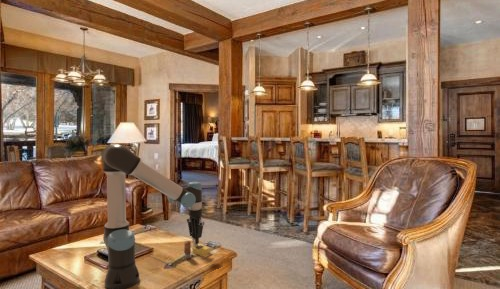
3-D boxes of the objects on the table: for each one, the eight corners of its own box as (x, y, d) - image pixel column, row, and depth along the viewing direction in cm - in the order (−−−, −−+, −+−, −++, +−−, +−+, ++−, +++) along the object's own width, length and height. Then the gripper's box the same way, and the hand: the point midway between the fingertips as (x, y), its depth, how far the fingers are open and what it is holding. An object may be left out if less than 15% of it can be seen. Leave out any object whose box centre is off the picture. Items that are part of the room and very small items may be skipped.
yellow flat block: (201, 256, 171) (201, 250, 171) (192, 252, 176) (192, 247, 176) (209, 253, 175) (209, 247, 175) (200, 249, 180) (200, 244, 180)
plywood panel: (201, 260, 168) (201, 258, 168) (180, 252, 179) (180, 250, 179) (219, 252, 179) (219, 250, 179) (199, 245, 190) (199, 243, 190)
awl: (187, 261, 167) (186, 243, 166) (183, 259, 169) (183, 242, 169) (192, 259, 170) (191, 241, 169) (188, 257, 172) (187, 240, 171)
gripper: (207, 209, 176) (208, 249, 177) (192, 205, 184) (193, 244, 186) (197, 212, 170) (198, 253, 172) (182, 208, 178) (183, 248, 180)
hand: (195, 248), depth 179 cm, fingers closed
